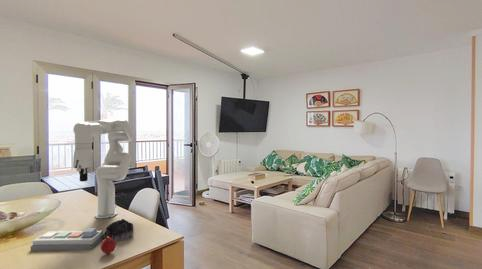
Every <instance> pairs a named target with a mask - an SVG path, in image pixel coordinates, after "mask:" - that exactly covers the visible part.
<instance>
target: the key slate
mask: <svg viewBox="0 0 482 269" xmlns="http://www.w3.org/2000/svg"><path fill="white" fill-rule="evenodd" d="M82 231H83V237H92V236H94V235H95V234H96V233H97V231H98V230H97V227H88V228H85V230H82Z"/></svg>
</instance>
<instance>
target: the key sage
mask: <svg viewBox="0 0 482 269" xmlns="http://www.w3.org/2000/svg"><path fill="white" fill-rule="evenodd" d="M69 235H70V232H61V233H60V234H58V235H56V236H55V238H66V237H67V236H69Z"/></svg>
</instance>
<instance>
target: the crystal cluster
mask: <svg viewBox="0 0 482 269" xmlns="http://www.w3.org/2000/svg"><path fill="white" fill-rule="evenodd" d="M105 230H106V231H105V232H103V233H104V240H105V239H106V238H107V236H109V237H110V238H112V239H113V240H114V241H115V242H120V241H121V242H122V241H124V240H126V239H129V238H131V237H132V235H134V224H133V223H132V222H129V221H127V220H126V219H124V218H121V219H119V220H116V221H113V222H112V223H109V225H107V226H106V228H105Z"/></svg>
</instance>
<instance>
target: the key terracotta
mask: <svg viewBox="0 0 482 269" xmlns="http://www.w3.org/2000/svg"><path fill="white" fill-rule="evenodd" d="M82 235H83V232H74V233H73V234H71V235H70V236H69V238H79V237H81V236H82Z"/></svg>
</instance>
